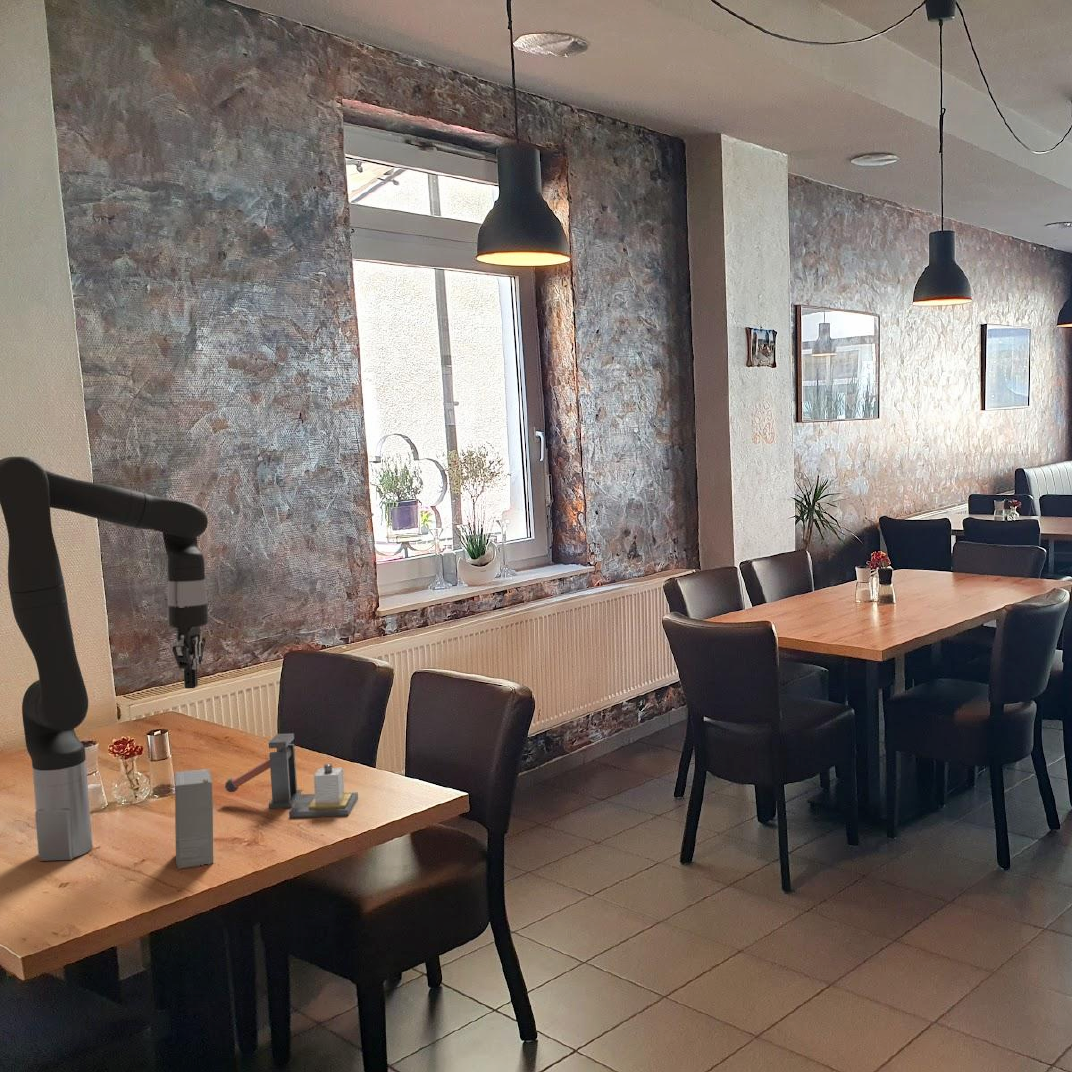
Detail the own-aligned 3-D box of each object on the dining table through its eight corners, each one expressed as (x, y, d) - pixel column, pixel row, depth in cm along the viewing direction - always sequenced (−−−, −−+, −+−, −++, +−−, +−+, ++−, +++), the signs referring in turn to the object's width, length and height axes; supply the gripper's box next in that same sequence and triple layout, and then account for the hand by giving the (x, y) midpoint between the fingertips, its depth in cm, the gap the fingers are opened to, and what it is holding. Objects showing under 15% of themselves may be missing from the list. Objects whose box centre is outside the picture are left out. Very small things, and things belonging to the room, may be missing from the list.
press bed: (348, 815, 212) (344, 749, 211) (260, 818, 212) (256, 752, 211) (361, 792, 226) (357, 730, 225) (279, 795, 227) (275, 733, 226)
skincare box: (175, 854, 194) (169, 771, 193) (215, 848, 197) (209, 766, 196) (176, 871, 187) (170, 784, 185) (218, 864, 189) (212, 778, 188)
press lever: (289, 760, 220) (282, 749, 219) (226, 797, 220) (219, 786, 220) (293, 754, 224) (287, 743, 224) (232, 791, 225) (226, 780, 224)
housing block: (339, 803, 214) (337, 768, 214) (315, 804, 214) (313, 769, 214) (344, 795, 219) (342, 761, 219) (320, 796, 219) (318, 761, 219)
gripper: (180, 599, 216) (184, 681, 217) (156, 606, 203) (160, 694, 204) (216, 598, 216) (220, 681, 217) (195, 606, 203) (198, 694, 204)
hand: (191, 687), depth 211 cm, fingers closed
